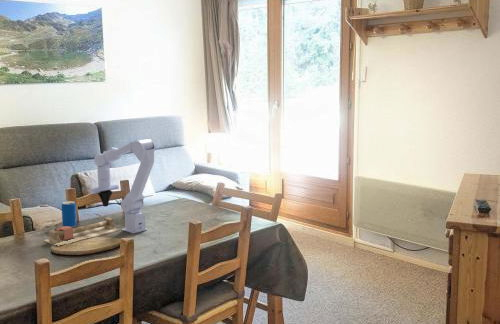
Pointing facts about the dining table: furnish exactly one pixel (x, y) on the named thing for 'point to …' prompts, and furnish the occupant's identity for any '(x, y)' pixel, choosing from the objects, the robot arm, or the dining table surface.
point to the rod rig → (85, 231)
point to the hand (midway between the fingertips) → (105, 206)
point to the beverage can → (69, 214)
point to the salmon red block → (66, 232)
